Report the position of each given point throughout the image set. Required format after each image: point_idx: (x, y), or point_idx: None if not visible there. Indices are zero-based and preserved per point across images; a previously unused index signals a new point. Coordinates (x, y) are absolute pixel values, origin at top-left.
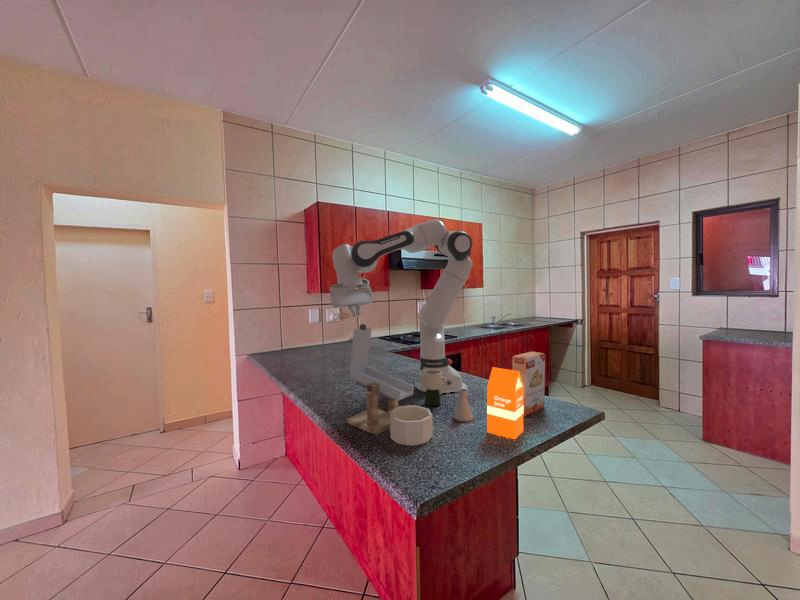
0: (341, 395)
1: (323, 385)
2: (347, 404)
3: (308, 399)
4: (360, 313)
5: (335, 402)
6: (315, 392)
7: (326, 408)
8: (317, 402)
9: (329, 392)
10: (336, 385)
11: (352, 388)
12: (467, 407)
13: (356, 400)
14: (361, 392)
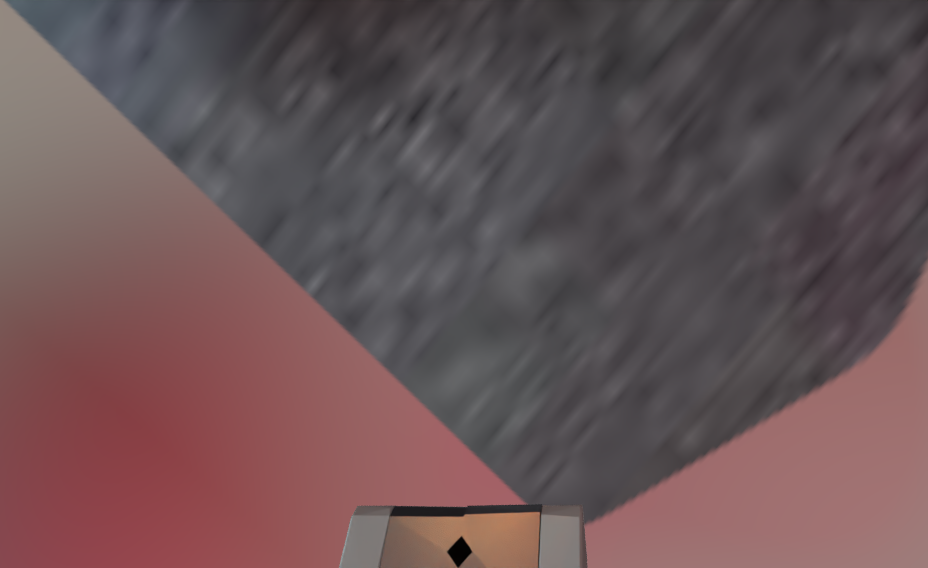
0: (612, 255)
1: None
2: (716, 54)
3: (837, 365)
4: (350, 540)
5: (748, 163)
6: (701, 446)
7: (885, 106)
8: (838, 265)
9: (631, 373)
10: (495, 455)
11: (450, 317)
12: None
13: (606, 75)
14: (458, 194)
